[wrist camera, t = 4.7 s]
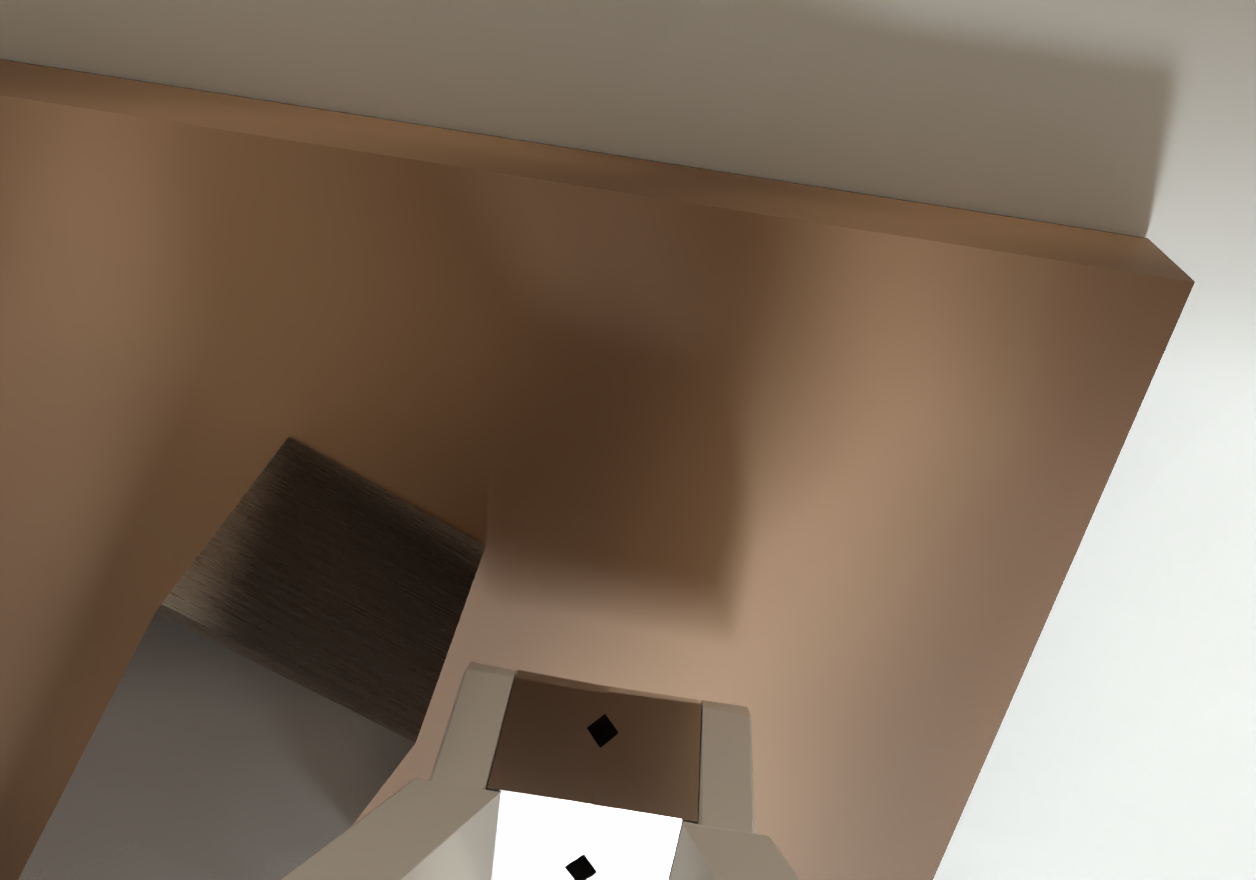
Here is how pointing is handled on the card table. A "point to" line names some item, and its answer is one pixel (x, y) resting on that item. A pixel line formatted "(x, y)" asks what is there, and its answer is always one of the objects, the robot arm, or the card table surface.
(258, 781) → the tongs arm
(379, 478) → the board
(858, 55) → the card table surface
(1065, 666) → the card table surface
